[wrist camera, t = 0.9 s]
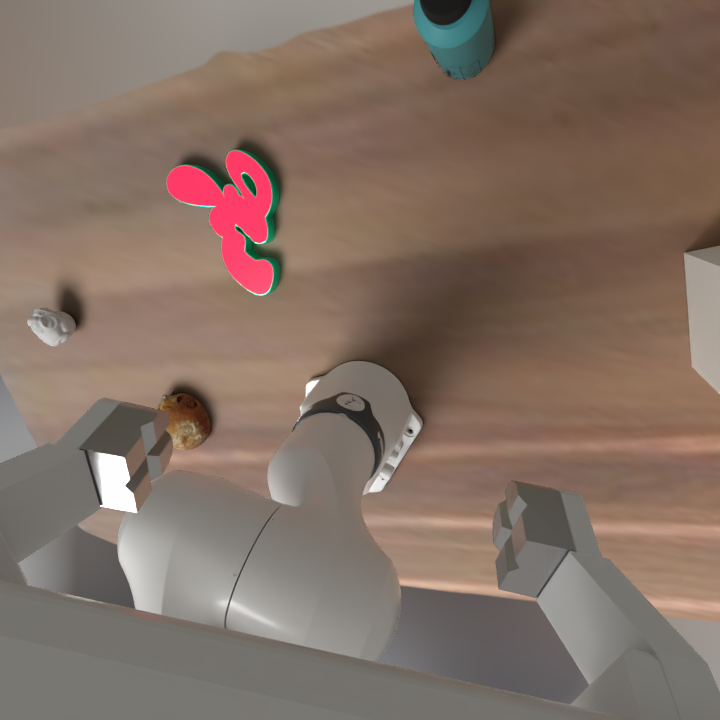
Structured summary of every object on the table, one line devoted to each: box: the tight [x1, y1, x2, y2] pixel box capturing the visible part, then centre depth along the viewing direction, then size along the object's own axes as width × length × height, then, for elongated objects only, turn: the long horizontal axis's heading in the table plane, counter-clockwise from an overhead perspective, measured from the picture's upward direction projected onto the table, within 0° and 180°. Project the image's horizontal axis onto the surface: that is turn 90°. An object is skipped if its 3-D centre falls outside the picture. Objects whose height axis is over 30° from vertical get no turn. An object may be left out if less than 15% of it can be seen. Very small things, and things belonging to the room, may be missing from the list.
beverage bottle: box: [414, 0, 496, 80], centre depth 43 cm, size 6×7×20 cm
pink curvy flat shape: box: [166, 149, 280, 296], centre depth 67 cm, size 20×16×2 cm
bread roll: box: [155, 391, 211, 450], centre depth 81 cm, size 10×10×8 cm
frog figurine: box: [27, 308, 76, 346], centre depth 80 cm, size 6×7×7 cm
